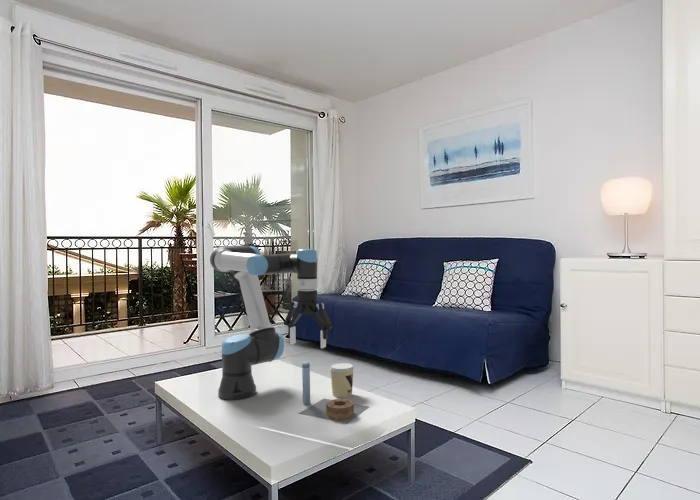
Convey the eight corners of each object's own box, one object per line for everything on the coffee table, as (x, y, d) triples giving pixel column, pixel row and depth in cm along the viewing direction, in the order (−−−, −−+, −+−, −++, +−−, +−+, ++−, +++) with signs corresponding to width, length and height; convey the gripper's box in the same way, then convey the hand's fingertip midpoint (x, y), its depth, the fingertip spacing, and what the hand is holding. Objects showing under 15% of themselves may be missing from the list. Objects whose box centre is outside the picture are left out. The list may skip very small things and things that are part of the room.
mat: (298, 414, 156) (298, 413, 156) (323, 399, 171) (323, 398, 171) (347, 425, 147) (347, 423, 147) (369, 408, 162) (369, 406, 162)
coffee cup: (351, 400, 170) (351, 369, 170) (328, 399, 172) (327, 368, 172) (356, 392, 180) (355, 363, 179) (333, 391, 181) (333, 362, 181)
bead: (322, 416, 153) (322, 405, 153) (335, 408, 161) (335, 397, 161) (344, 421, 148) (344, 409, 148) (357, 412, 156) (357, 401, 156)
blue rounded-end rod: (301, 405, 166) (300, 363, 165) (305, 403, 168) (304, 361, 168) (307, 406, 164) (306, 364, 164) (311, 404, 167) (311, 362, 167)
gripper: (274, 289, 168) (275, 344, 169) (331, 292, 157) (331, 351, 157) (285, 287, 175) (286, 340, 175) (341, 290, 164) (341, 346, 164)
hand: (307, 345), depth 166 cm, fingers open, 13 cm apart
